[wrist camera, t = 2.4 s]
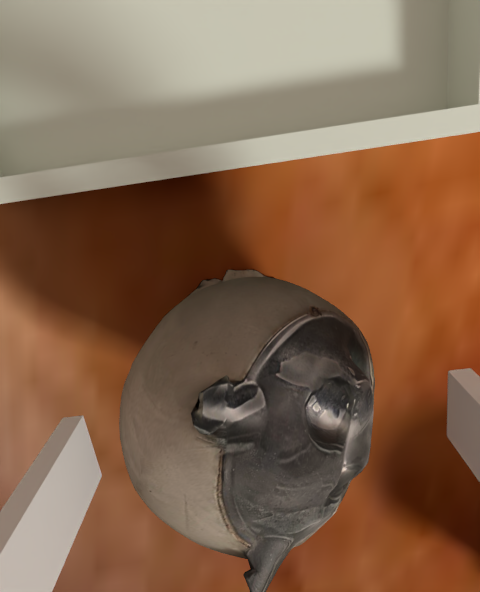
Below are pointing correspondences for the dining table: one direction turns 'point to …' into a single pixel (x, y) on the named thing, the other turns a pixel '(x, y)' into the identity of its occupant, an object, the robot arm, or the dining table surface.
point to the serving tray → (222, 85)
